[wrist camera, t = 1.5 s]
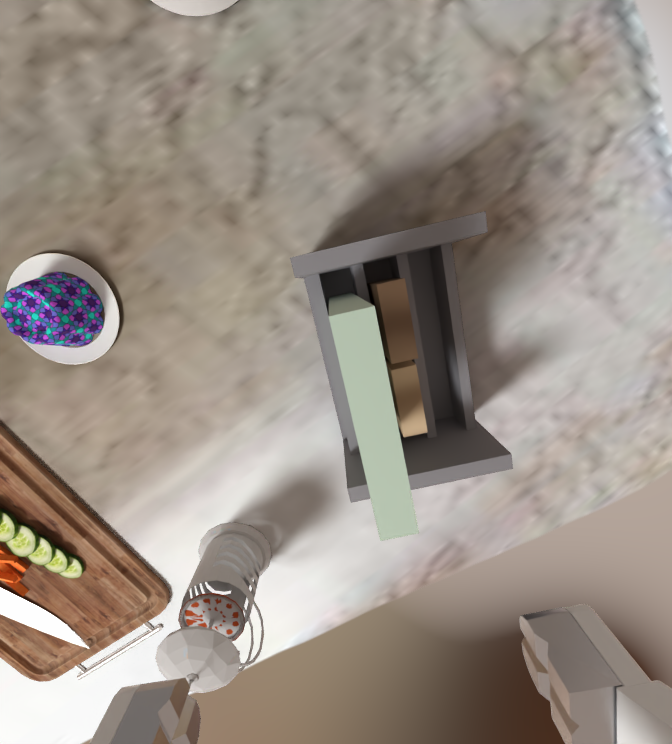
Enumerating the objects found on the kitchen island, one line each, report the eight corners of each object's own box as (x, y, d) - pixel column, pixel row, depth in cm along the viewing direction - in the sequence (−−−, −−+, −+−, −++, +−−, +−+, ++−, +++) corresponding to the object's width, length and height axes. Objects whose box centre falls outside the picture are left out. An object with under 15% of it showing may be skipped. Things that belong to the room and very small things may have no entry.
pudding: (143, 299, 39) (114, 302, 34) (92, 382, 41) (59, 397, 36) (40, 229, 37) (-6, 221, 32) (-6, 321, 39) (-57, 327, 34)
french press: (235, 508, 45) (127, 770, 21) (295, 563, 48) (261, 855, 24) (182, 551, 47) (26, 840, 23) (244, 602, 49) (162, 913, 25)
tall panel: (328, 297, 37) (328, 316, 18) (350, 292, 37) (374, 306, 18) (356, 416, 41) (380, 540, 21) (376, 412, 41) (419, 533, 21)
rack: (301, 264, 38) (290, 257, 27) (438, 231, 37) (485, 211, 26) (345, 445, 43) (350, 502, 32) (465, 419, 43) (512, 468, 32)
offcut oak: (380, 355, 39) (390, 370, 33) (402, 351, 39) (416, 364, 33) (392, 413, 41) (403, 437, 34) (412, 408, 41) (427, 432, 34)
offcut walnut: (366, 283, 37) (376, 284, 29) (388, 278, 37) (404, 278, 29) (379, 347, 39) (391, 364, 31) (400, 342, 39) (418, 358, 31)
